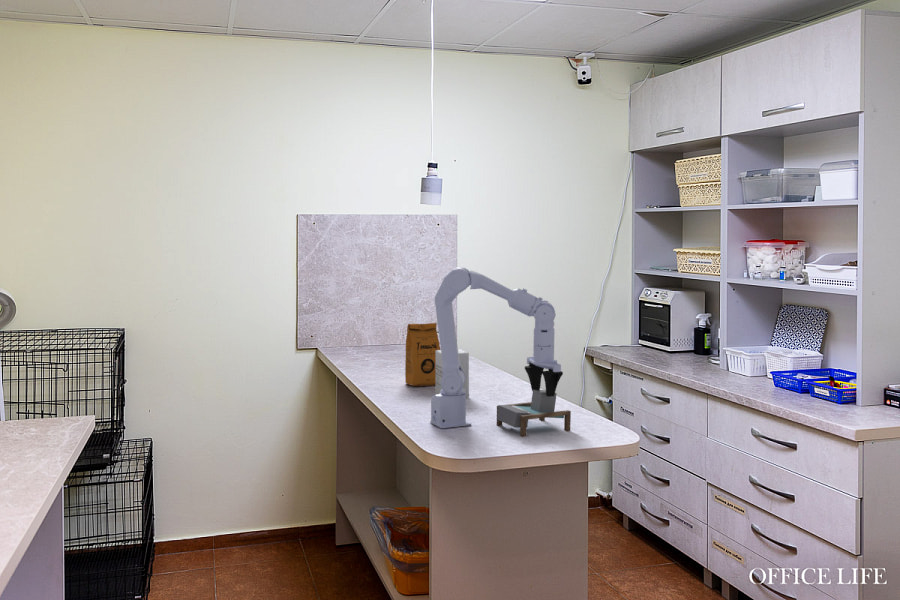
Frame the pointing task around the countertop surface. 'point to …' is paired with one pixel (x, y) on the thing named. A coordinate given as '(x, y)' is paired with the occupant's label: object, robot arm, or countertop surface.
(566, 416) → the frame
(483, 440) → the countertop surface
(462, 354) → the supplement box
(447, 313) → the robot arm
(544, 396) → the gray block
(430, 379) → the coffee package
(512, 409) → the trapdoor
